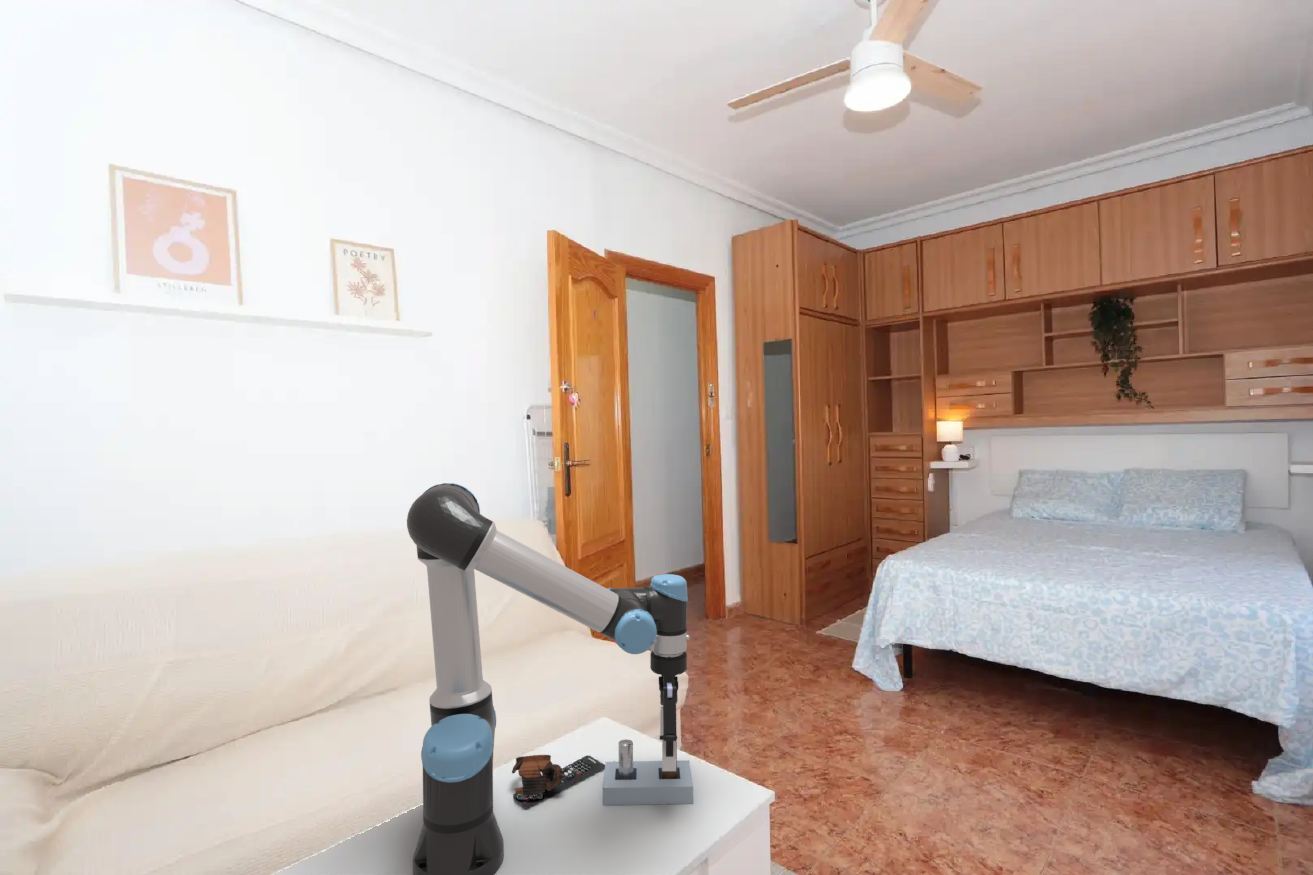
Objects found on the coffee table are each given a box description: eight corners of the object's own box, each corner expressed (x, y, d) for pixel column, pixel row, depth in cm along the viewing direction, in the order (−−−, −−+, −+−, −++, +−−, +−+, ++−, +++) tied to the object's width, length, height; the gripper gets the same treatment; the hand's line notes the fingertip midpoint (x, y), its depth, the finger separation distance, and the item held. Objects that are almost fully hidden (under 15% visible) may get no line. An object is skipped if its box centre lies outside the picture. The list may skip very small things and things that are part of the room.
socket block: (602, 805, 130) (602, 787, 130) (605, 777, 140) (605, 761, 140) (692, 803, 130) (692, 786, 130) (689, 776, 140) (689, 760, 140)
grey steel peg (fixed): (618, 794, 133) (618, 746, 133) (619, 786, 136) (618, 739, 136) (633, 794, 133) (632, 746, 133) (633, 786, 136) (633, 739, 136)
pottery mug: (501, 802, 132) (502, 757, 136) (527, 801, 139) (528, 758, 143) (552, 798, 128) (552, 751, 132) (576, 796, 136) (575, 752, 140)
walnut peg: (677, 793, 134) (677, 745, 133) (662, 794, 133) (662, 746, 133) (676, 785, 137) (676, 738, 136) (662, 786, 136) (661, 739, 136)
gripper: (691, 674, 122) (690, 786, 122) (683, 631, 147) (682, 724, 147) (651, 674, 122) (650, 786, 122) (649, 631, 147) (648, 724, 147)
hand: (667, 752), depth 135 cm, fingers open, 13 cm apart
